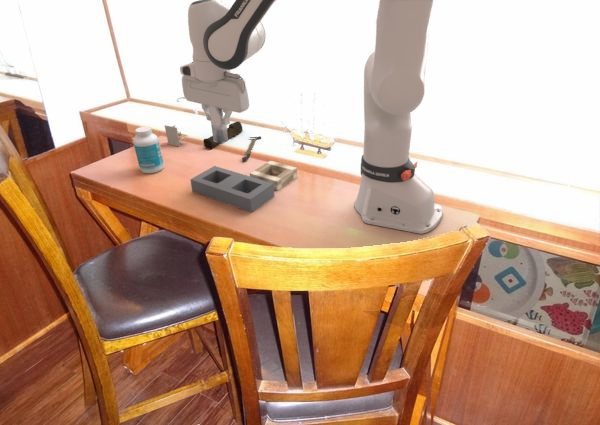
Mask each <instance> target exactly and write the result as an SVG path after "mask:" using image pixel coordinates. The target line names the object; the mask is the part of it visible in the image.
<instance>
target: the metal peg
mask: <svg viewBox="0 0 600 425" xmlns="http://www.w3.org/2000/svg"><path fill="white" fill-rule="evenodd" d="M209 110H210V118H211V121H210V124H211V133H212V136H213V141H214V142H217V143H219V144H221V143H225V142H228V141H229V139H228V134H227V128H228V126H227V125H225V124H222V123H221V122H222V121H221V118H222V117H224V114H225V113H223V109H221V108H216V107H214V106H209Z"/></svg>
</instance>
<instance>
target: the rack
mask: <svg viewBox="0 0 600 425" xmlns="http://www.w3.org/2000/svg"><path fill="white" fill-rule="evenodd" d="M189 182H190V185H191V190H192V193H194V194H198V195H201V196H204V197H206V198H209V199H212V200H216V201H218V202H221V203H222V204H223V203H224V204H227V205H230V206H232V207H234V208H238V209H241V210H242V211H243V210H244V211H246V212H249V213H253V212H255V211H256V210H258V209H259V208H260V207H262V206H263V205H264V204H266V203H267V202H268V201H270V200H272V198H274V197H275V190H274V184H273V183H270V182H267V181H263V180H260V179H257V178H253V177H250V175H247V174H243V173H240V172H236V171H234V170H233V171H232V170H231V169H230V170H229V169H226V168H223V167H220V166H216V165H214V166H212V167H210V168H209V169H206V170H204V171H203V172H201V173H199V174H198V175H195V176H194V177H192V178H191V179H190V180H189Z"/></svg>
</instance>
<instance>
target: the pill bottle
mask: <svg viewBox="0 0 600 425" xmlns="http://www.w3.org/2000/svg"><path fill="white" fill-rule="evenodd" d="M134 132H135V137H133V140H132V142H133V147H134V151H135V155H136V158H137V162H138V163H137V164H138V167H139V170H140V172H142V173H144V174H155V173H158V172H161V171H162V170H163V169H164V167H165V164H164V159H163V155H162V151H161V147H160V142H159V138H158V136H157V135H156V134H155V133H153V131H152V128H151V127H150V126H139V127H138V128H136V129H135V131H134Z"/></svg>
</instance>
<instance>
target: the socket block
mask: <svg viewBox="0 0 600 425" xmlns="http://www.w3.org/2000/svg"><path fill="white" fill-rule="evenodd" d="M271 174H274V175H276V176H274V175H271ZM249 176H250V177H253V178H257V179H260V180H263V181H267V182H270V183H273V184H274V191H279V190H281V189H282V188H283V187H285V186H286V185H288V184H289V183H291V182H292V181H293V180H295V179H296V178H297V177H298V167H295V166H292V165H288V164H285V163H282V162H281V163H280V162H277V161H273V160H269V161H267V162H266V163H264V164H262V165H260V166H259V167H258V168H256V169H254V170H253V171H251V172H250V173H249Z"/></svg>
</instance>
